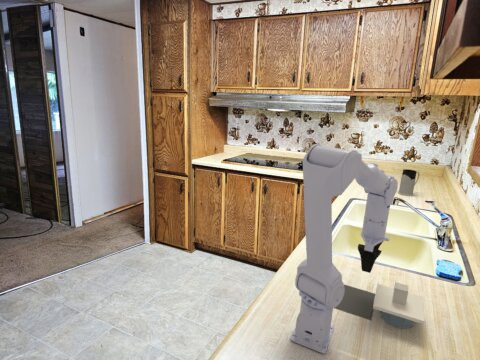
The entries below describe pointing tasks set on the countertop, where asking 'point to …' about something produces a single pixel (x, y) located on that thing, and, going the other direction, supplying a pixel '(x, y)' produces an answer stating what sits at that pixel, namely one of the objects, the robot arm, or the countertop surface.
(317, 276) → the robot arm
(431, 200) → the countertop surface
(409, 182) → the gray black pitcher
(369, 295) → the mat
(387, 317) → the bowl
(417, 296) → the cover
